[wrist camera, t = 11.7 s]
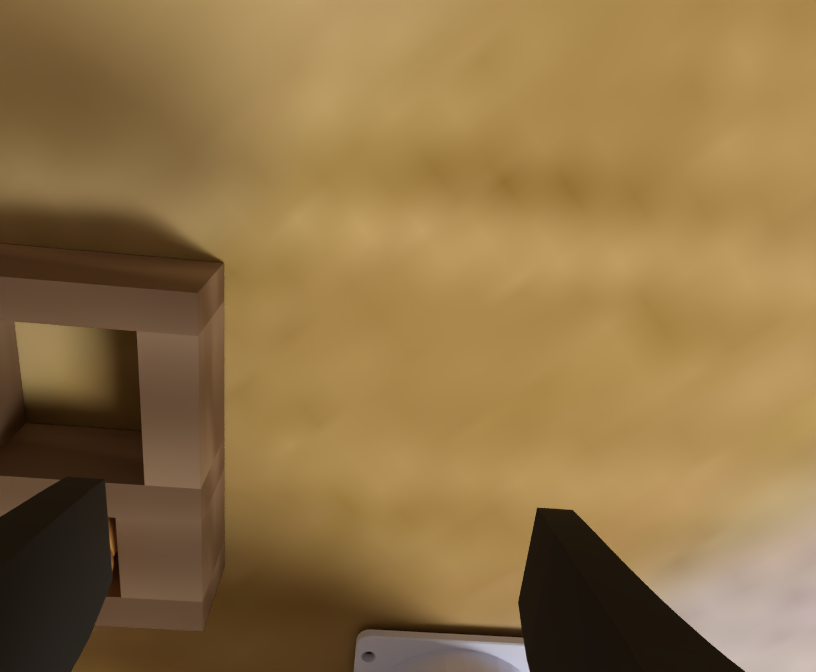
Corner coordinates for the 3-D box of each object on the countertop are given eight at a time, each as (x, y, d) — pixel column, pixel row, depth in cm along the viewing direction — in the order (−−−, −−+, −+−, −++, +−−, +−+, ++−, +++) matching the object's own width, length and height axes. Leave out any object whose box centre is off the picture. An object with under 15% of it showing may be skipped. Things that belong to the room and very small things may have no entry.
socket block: (224, 567, 24) (202, 631, 21) (-4, 553, 24) (-57, 617, 21) (223, 262, 20) (197, 293, 17) (-52, 238, 19) (-126, 266, 17)
